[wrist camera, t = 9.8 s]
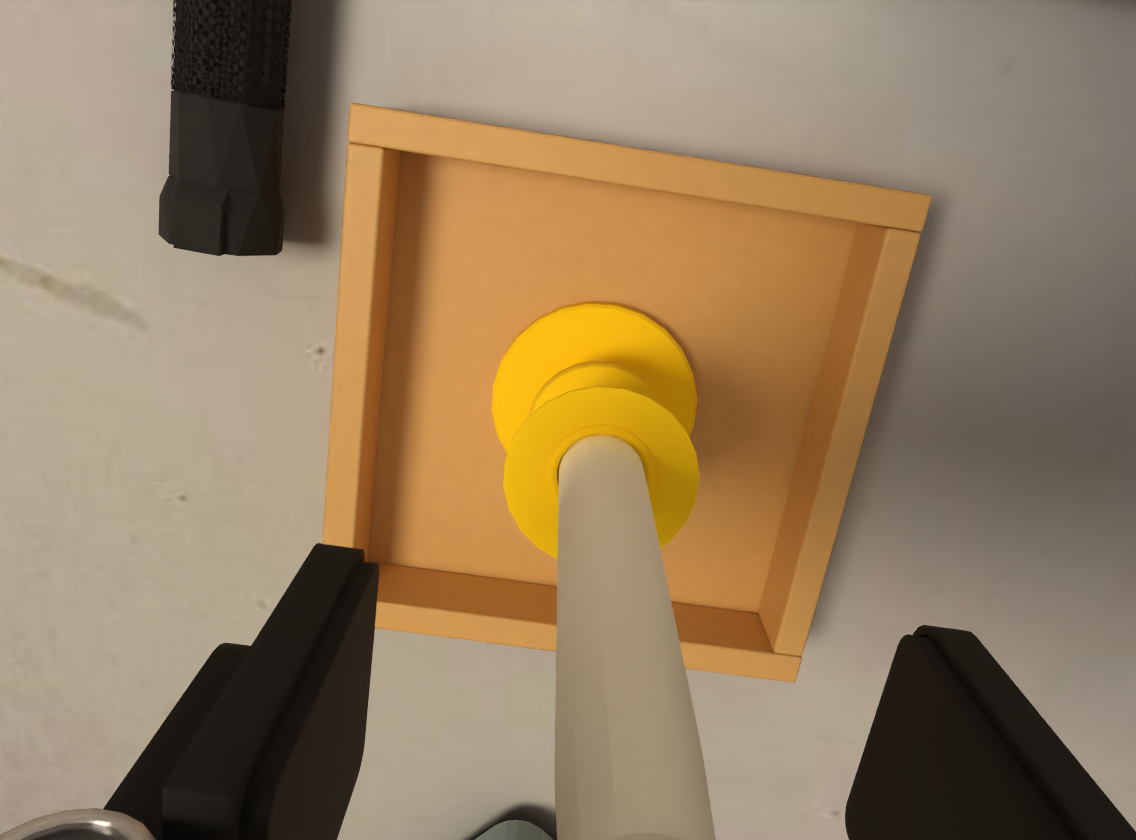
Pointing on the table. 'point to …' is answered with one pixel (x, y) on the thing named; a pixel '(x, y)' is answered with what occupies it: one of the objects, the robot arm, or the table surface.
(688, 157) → the light tray
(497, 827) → the smartphone
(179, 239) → the flashlight
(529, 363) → the candle
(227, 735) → the robot arm
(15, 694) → the table surface
